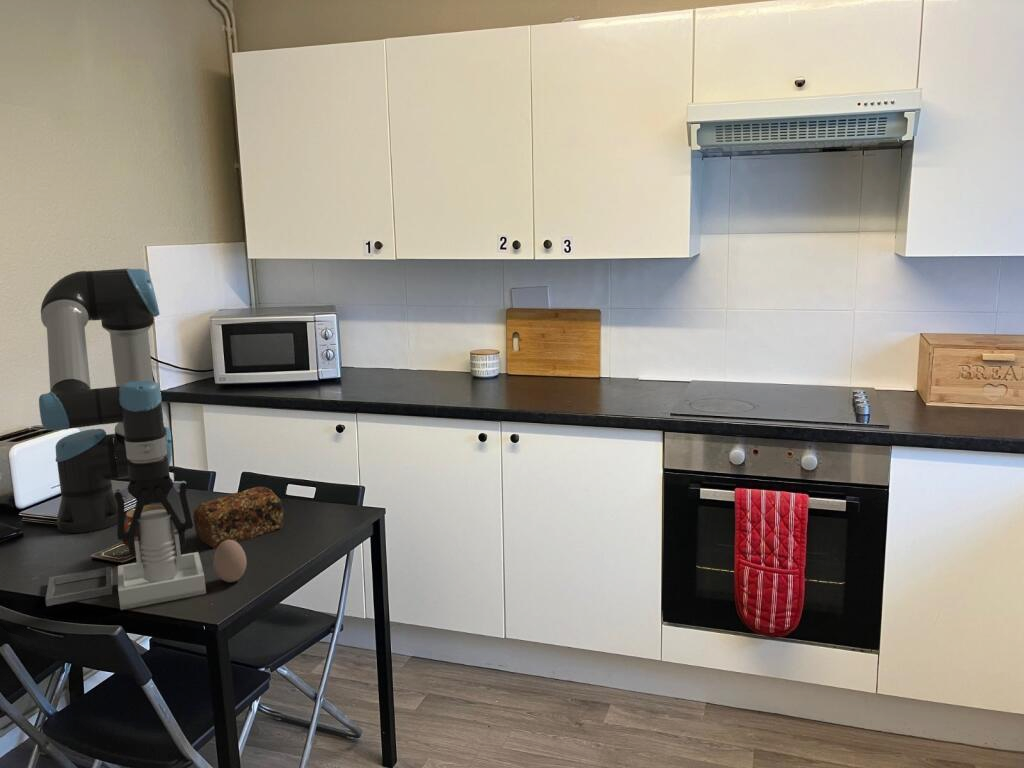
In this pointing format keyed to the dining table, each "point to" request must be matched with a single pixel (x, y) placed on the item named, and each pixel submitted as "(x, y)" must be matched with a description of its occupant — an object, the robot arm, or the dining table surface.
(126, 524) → the mug
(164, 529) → the grey tall round piece
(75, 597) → the grey square frame
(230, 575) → the egg
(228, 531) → the bread
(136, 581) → the bin
